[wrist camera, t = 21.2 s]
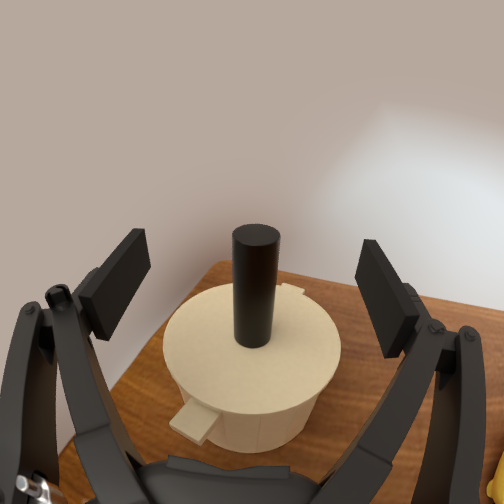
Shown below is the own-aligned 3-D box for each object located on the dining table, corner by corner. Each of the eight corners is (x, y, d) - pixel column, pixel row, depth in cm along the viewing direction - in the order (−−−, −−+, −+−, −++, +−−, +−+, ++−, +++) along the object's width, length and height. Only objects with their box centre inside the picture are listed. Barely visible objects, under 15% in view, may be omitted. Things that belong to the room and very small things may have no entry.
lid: (130, 362, 19) (91, 254, 14) (225, 276, 29) (223, 185, 24) (298, 452, 13) (342, 362, 8) (354, 319, 24) (382, 220, 19)
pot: (146, 430, 21) (113, 378, 17) (240, 325, 35) (240, 262, 30) (264, 497, 16) (275, 476, 12) (334, 360, 30) (355, 298, 25)
